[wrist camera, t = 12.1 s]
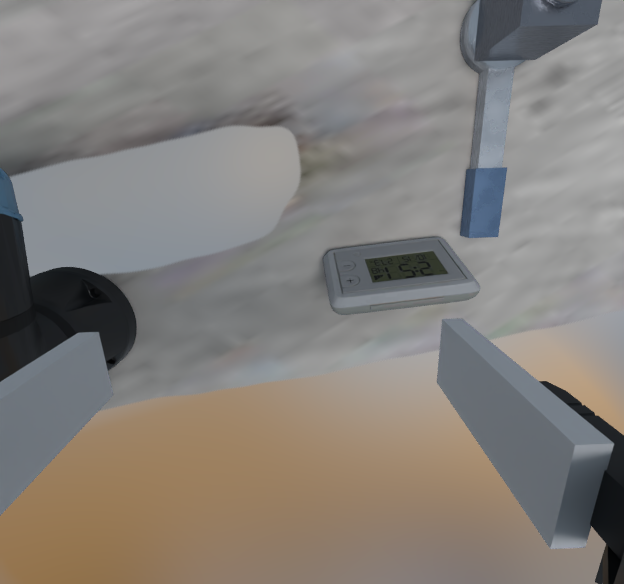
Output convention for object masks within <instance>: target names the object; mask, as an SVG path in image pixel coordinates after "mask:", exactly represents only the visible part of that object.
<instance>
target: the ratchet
mask: <svg viewBox="0 0 624 584" xmlns="http://www.w3.org/2000/svg"><path fill="white" fill-rule="evenodd" d="M479 4H480V0H477V1H476V2H475V3H474V4H473V5H472V7H471V8H470V9H469V11H468V12H467V14H466V16H465V18H464V21H463V23H462V27H461V32H460V47H461V52H462V55H463V57H464V59H465V61H466V63H467V64H468V65H469V66H470V67H471V68H472V69H473V70H474V71H476V72H477V73H480V74H479V84H478V94H477V104H476V114H475V124H474V134H473V143H472V153H471V163H470V169H468V170H467V171H466V181H465V191H464V201H463V211H462V221H461V232H460V235H461V236H464V237H468V238H479V237H498V233H499V225H500V218H501V210H502V202H503V195H504V187H505V180H506V172H507V168H502V162H503V154H504V146H505V138H506V130H507V122H508V114H509V107H510V99H511V91H512V83H513V75H514V67H515V66H517V65H519V64H521V63H522V62H524V61H525V60H509V61H474V56H475V46H476V35H477V25H478V15H479Z"/></svg>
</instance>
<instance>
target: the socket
mask: <svg viewBox="0 0 624 584" xmlns="http://www.w3.org/2000/svg"><path fill="white" fill-rule="evenodd" d="M601 2H602V0H480V4H479V15H478V25H477V35H476V46H475V56H474V61H509V60H535V59H537V58H539V57H541V56H542V55H544V54H546V53H548V52H550V51H551V50H553V49H555V48H557V47H558V46H560V45H562V44H564V43H565V42H567V41H569V40H571V39H572V38H574V37H576V36H578V35H579V34H581V33H583V32H585V31H587V30H588V29H590V28H592V27H594V26H595V25H597V24H598V19H599V13H600V8H601Z"/></svg>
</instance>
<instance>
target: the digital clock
mask: <svg viewBox="0 0 624 584" xmlns="http://www.w3.org/2000/svg"><path fill="white" fill-rule="evenodd" d="M323 263H324V269H325V276H326V282H327V288H328V295H329V300H330V305H331V307H332V309H333V311H335V312H336V313H338V314H341V315H348V314H357V313H367V312H375V311H384V310H392V309H401V308H409V307H417V306H426V305H434V304H443V303H450V302H458V301H465V300H469V299H471V298H473V297H475V296H476V295H477V294H478V293H479V291H480V285H479V284H478V282H477V281H476V279H475V278H474V277H473V275H472V274H471V273H470V271H469V270H468V269H467V267H466V266H465V265H464V264H463V262H462V261H461V260H460V258H459V257H458V256H457V255H456V253H455V252H454V251H453V249H452V248H451V247H450V246H449V244H448V243H447V242H446V241H445V240H444V239H443V238H441V237H432V238H423V239H415V240H407V241H398V242H390V243H382V244H374V245H366V246H358V247H350V248H342V249H335V250H330V251H329V252H328V253H327V254H326V255H325V256H324V258H323Z"/></svg>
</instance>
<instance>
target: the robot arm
mask: <svg viewBox="0 0 624 584" xmlns="http://www.w3.org/2000/svg"><path fill="white" fill-rule="evenodd" d="M22 221H23V217H22V216H21V214H19V211H18V207H17V203H16V199H15V194H14V190H13V186H12V182H11V180H10V178H9V176H8V175H7V174H6V173H5V172H4V171H3V170H2V169H1V168H0V515H1V514H2V513H3V512H4V511H5V510H6V509H7V508H8V507H9V506H10V505H11V504H12V503H13V501H14V500H15V499H16V498H17V497H18V496H19V495H20V494H21V493H22V491H24V490H25V489H26V487H28V485H29V484H30V483H31V482H32V481H33V480H34V479H35V478H36V477H37V476H38V475H39V474H40V473H41V472H42V471H43V469H44V468H45V467H46V466H47V465H48V464H49V463H50V462H51V461H52V460H53V459H54V458H55V456H56V455H57V454H58V453H59V452H60V451H61V450H62V449H63V448H64V447H65V446H66V445H67V444H68V442H70V441H71V440H72V438H73V437H74V436H75V435H76V434H77V433H78V432H79V431H80V430H81V429H82V427H84V426H85V424H86V423H87V422H88V421H89V420H90V419H91V418H92V417H93V416H94V415H95V414H96V413H97V412H98V411H99V410H100V409H101V408H102V406H103V405H104V404H105V403H106V402H107V401H108V400H109V399H110V398H111V397H112V396H113V391H112V386H111V382H110V378H109V374H108V370H110V369H111V368H113V367H114V366H115V365H117V364H118V363H119V362H120V361H121V360H122V359H123V358H124V357H125V356H126V355H127V354H128V352H129V351H130V349H131V348H132V346H133V343H134V340H135V336H136V321H135V316H134V313H133V310H132V308H131V306H130V304H129V302H128V300H127V299H126V297H125V296H124V295H123V293H122V292H121V291H120V290H119V289H118V288H117V287H116V286H115V285H114V284H113V283H111V282H110V281H109V280H107V279H106V278H104V277H102V276H101V275H99V274H97V273H94V272H92V271H89V270H85V269H81V268H75V267H61V268H56V269H52V270H49V271H46V272H43V273H39V274H37V275H35V276H33V277H31V278H30V276H29V270H28V263H27V256H26V251H25V244H24V237H23V230H22V224H21V222H22ZM437 383H438V384H439V386H440V388H441V389H442V391H443V392H444V394H445V395H446V396H447V398H448V399H449V401H450V402H451V404H452V405H453V407H454V408H455V410H456V411H457V413H458V414H459V416H460V417H461V418H462V420H463V421H464V423H465V424H466V426H467V427H468V428H469V430H470V432H471V433H472V435H473V436H474V438H475V439H476V441H477V442H478V443H479V445H480V446H481V448H482V449H483V451H484V452H485V454H486V455H487V456H488V458H489V460H490V461H491V463H492V464H493V465H494V467H495V468H496V470H497V471H498V473H499V474H500V476H501V477H502V478H503V480H504V481H505V483H506V484H507V486H508V487H509V489H510V490H511V492H512V493H513V494H514V496H515V498H516V499H517V501H518V502H519V504H520V505H521V507H522V508H523V510H524V511H525V512H526V514H527V515H528V517H529V518H530V520H531V521H532V523H533V524H534V526H535V527H536V528H537V530H538V532H539V533H540V534H541V536H542V537H543V539H544V540H545V542H546V543H547V545H548V546H549V548H550V549H561V548H582V547H583V548H584V547H585V546H586V543H587V539H588V535H589V532H590V528H591V526H592V527H593V528H594V530H595V531H596V532H597V533H598V534H599V536H600V537H601V538H602V539H603V540H604V541H605V543H606V547H605V550H604V553H603V556H602V560H601V563H600V566H599V570H598V573H597V576H596V579H595V582H596V583H598V584H602V583H603V584H624V435H622V434H621V433H620V432H618V431H617V430H616V429H614V428H613V427H612V426H611V425H609V424H608V423H607V422H605V421H604V420H603V419H602V418H600V417H599V416H595V414H594V412H593V411H591V410H590V409H589V408H587V407H586V406H585V405H582V404H581V402H580V401H578V400H577V399H576V398H574V397H573V396H572V395H571V394H569V393H568V392H566V391H565V390H563V389H561V388H559V387H557V386H555V385H553V384H551V383H549V382H547V381H538V380H536V379H535V378H534V377H533V376H531V375H530V374H529V373H528V372H527V371H525V370H524V369H523V368H522V367H520V366H519V365H518V364H517V363H516V362H514V361H513V360H512V359H511V358H509V357H508V356H507V355H506V354H505V353H504V352H502V351H501V350H500V349H499V348H497V347H496V346H495V345H494V344H493V343H491V342H490V341H489V340H488V339H487V338H485V337H484V336H483V335H482V334H480V333H479V332H478V331H477V330H476V329H474V328H473V327H472V326H471V325H470V324H468V323H467V322H466V321H465V320H463V319H442V329H441V340H440V353H439V363H438V375H437Z"/></svg>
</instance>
